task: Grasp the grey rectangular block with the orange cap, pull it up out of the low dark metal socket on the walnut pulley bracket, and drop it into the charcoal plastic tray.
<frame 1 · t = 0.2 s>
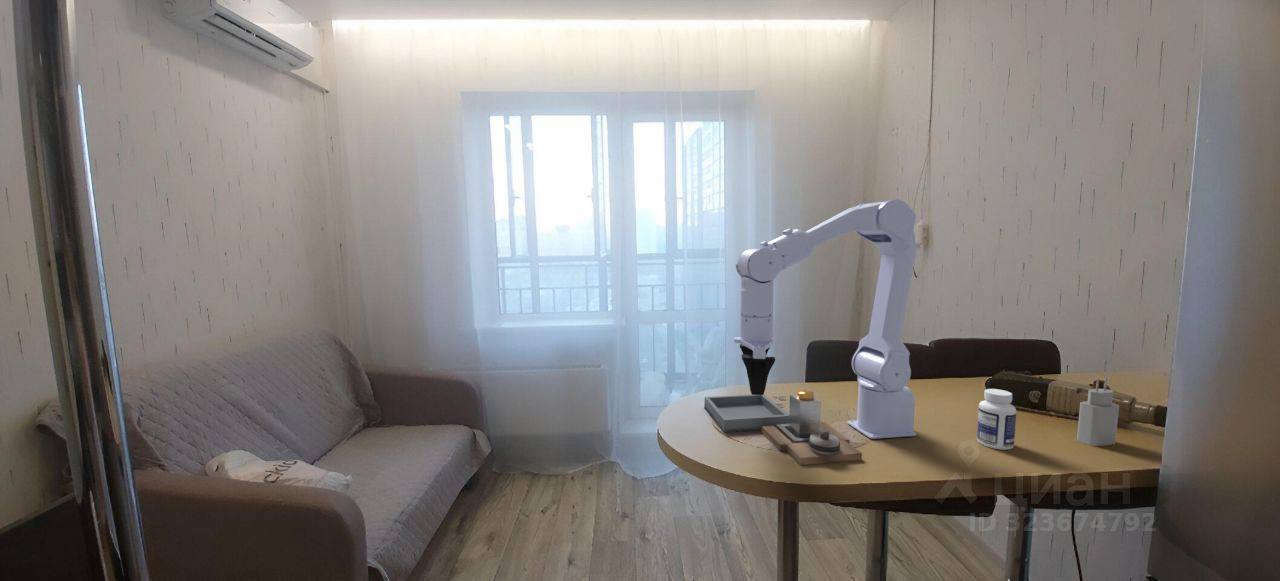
hand: (755, 387, 87), 10 cm above the table, fingers open, 7 cm apart
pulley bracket: (810, 444, 85), on the table
power adapter: (1095, 442, 86), on the table
pill bottle: (994, 445, 85), on the table
tray: (744, 417, 99), on the table
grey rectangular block: (803, 439, 88), resting in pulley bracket
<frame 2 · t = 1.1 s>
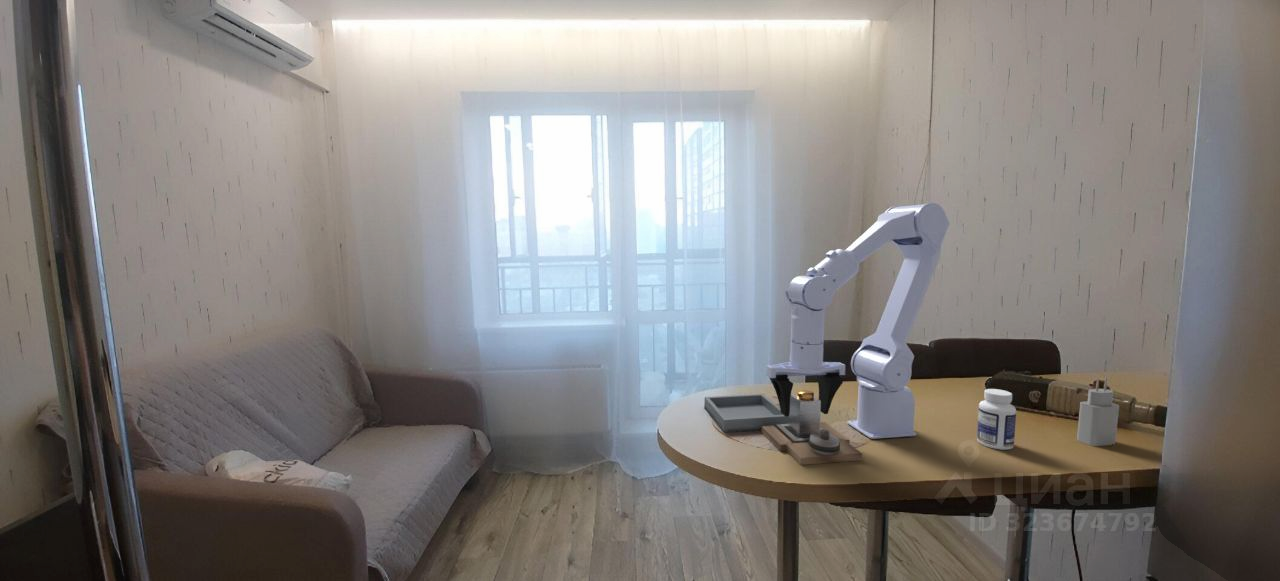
hand: (804, 413, 87), 5 cm above the table, fingers open, 7 cm apart
nothing on the table moved.
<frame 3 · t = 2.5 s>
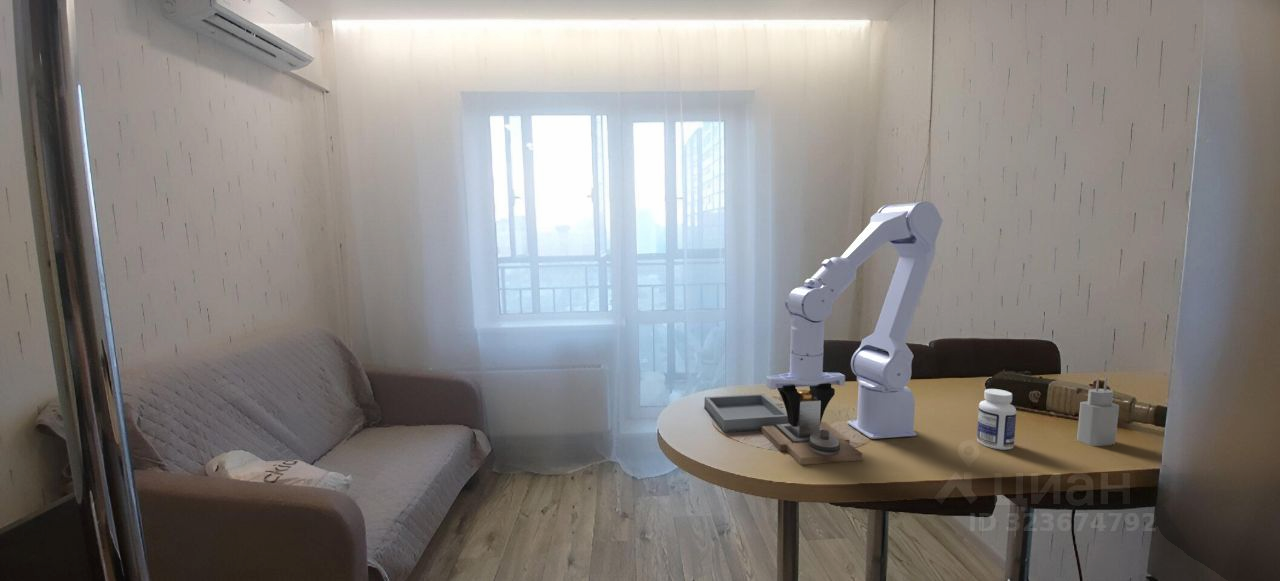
hand: (804, 423, 88), 3 cm above the table, fingers closed on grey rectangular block, 4 cm apart
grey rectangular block: (803, 438, 88), resting in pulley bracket, touching gripper
everything else where it was.
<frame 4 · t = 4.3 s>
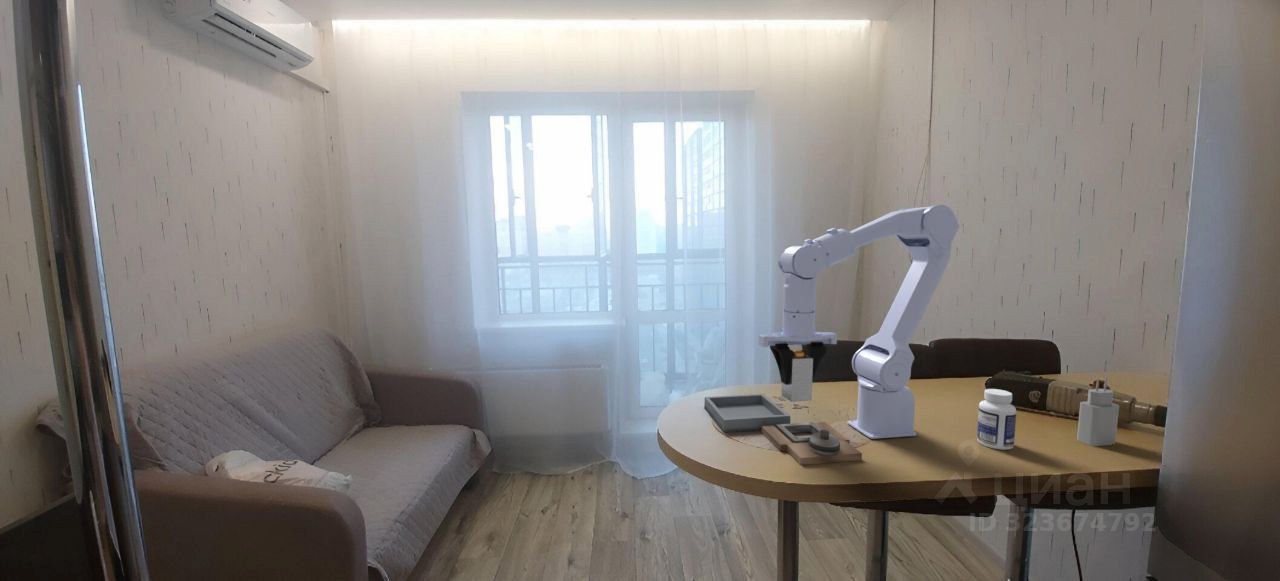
hand: (796, 382, 88), 10 cm above the table, fingers closed on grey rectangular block, 4 cm apart
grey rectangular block: (796, 397, 88), point 8 cm above the table, touching gripper
everything else where it was.
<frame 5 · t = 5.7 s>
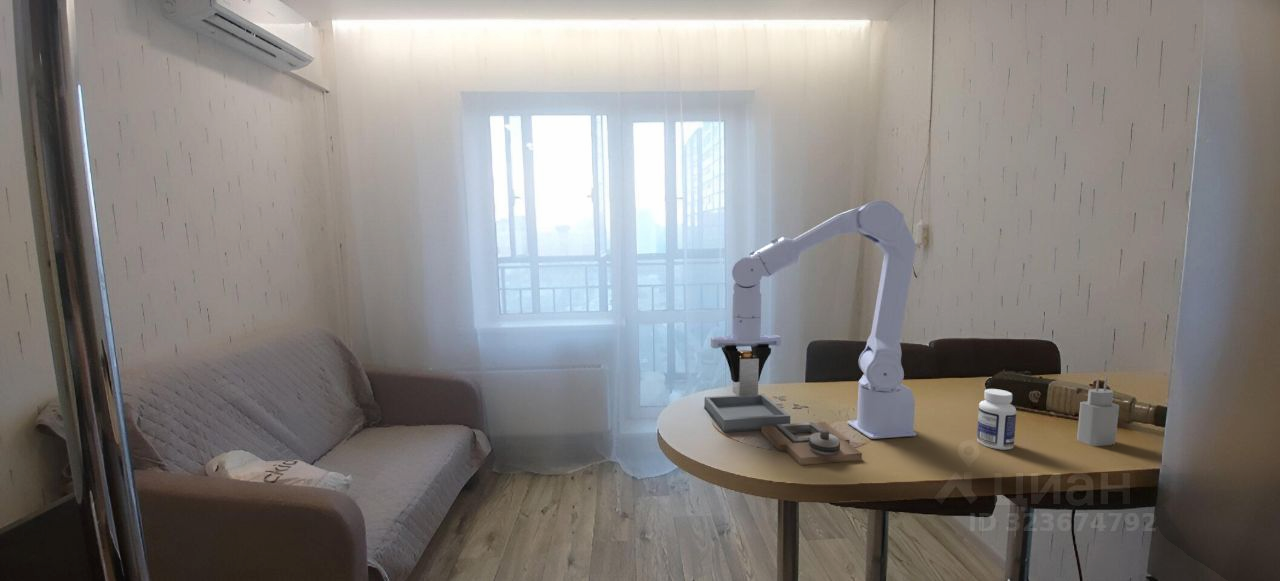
hand: (745, 380, 98), 8 cm above the table, fingers closed on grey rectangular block, 4 cm apart
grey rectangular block: (745, 394, 98), point 5 cm above the table, touching gripper
everything else where it was.
when the fingers open (5 cm above the table, at t = 6.6 s): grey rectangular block drops 1 cm, resting on tray.
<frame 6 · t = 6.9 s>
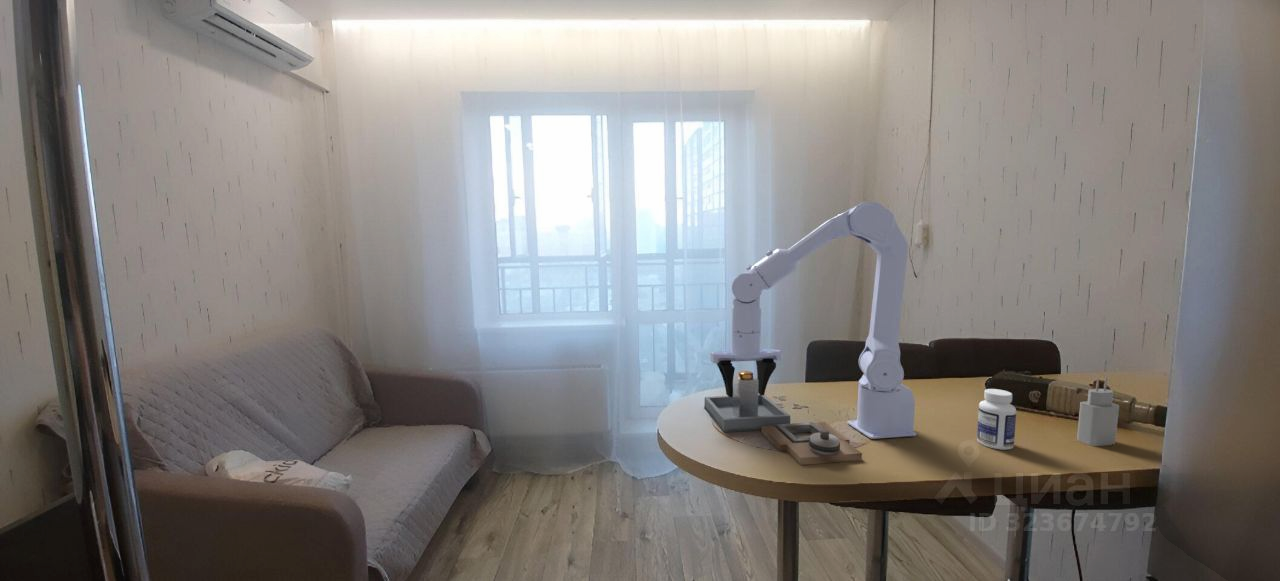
hand: (745, 394, 98), 5 cm above the table, fingers open, 6 cm apart
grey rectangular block: (744, 414, 99), point 1 cm above the table, touching tray
everything else where it was.
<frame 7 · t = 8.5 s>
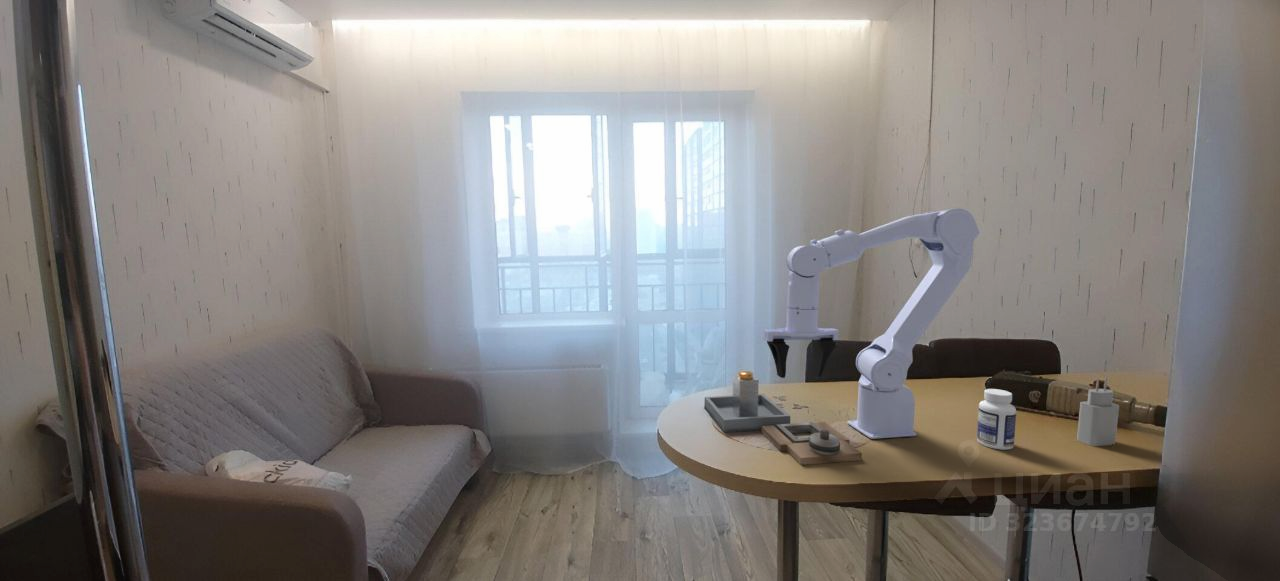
hand: (799, 375, 93), 10 cm above the table, fingers open, 7 cm apart
nothing on the table moved.
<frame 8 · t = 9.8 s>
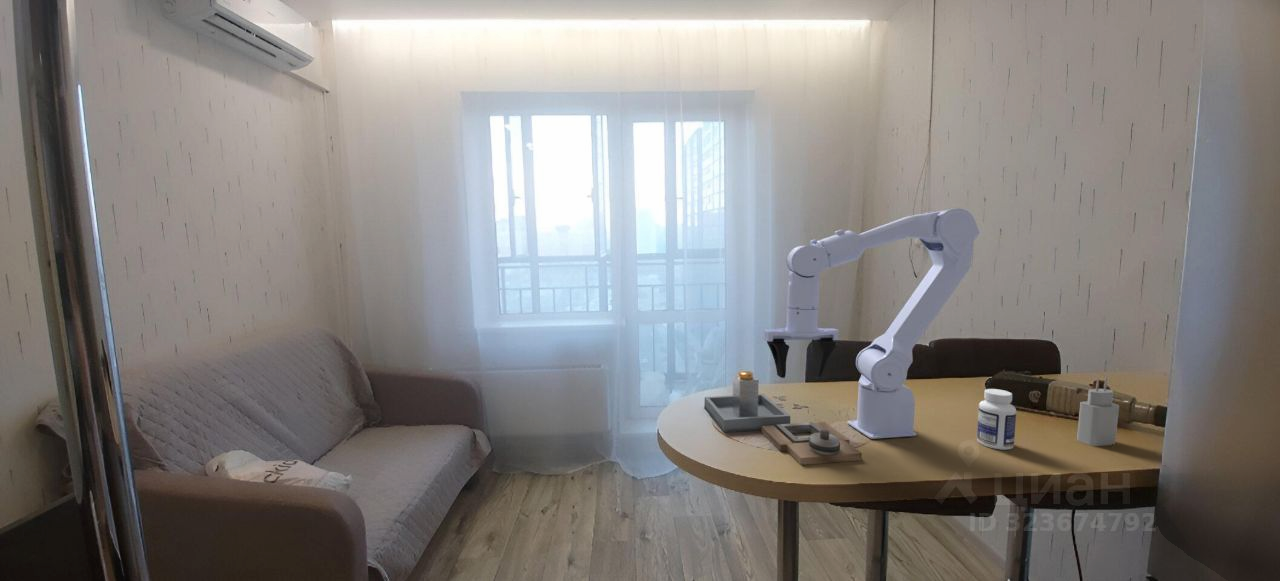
hand: (799, 375, 93), 10 cm above the table, fingers open, 7 cm apart
nothing on the table moved.
at the end: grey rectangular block inside the target area on the tray (0.0 cm from its centre), point 0.6 cm above the tray's base; the gripper is holding nothing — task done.
